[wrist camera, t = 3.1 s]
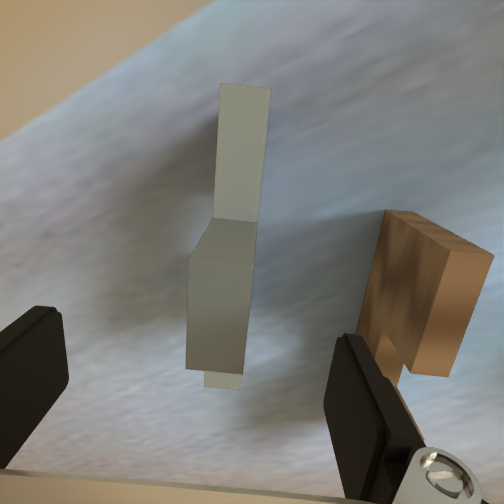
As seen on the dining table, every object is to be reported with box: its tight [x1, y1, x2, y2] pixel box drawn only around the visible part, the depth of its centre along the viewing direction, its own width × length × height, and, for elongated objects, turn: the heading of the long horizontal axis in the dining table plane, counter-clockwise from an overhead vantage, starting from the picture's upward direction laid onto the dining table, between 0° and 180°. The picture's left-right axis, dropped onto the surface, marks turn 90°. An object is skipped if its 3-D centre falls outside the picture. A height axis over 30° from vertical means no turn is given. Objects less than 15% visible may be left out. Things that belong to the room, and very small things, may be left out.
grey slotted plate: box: [186, 83, 271, 390], centre depth 20 cm, size 18×2×16 cm, turn 175°
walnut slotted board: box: [356, 210, 494, 441], centre depth 26 cm, size 22×2×10 cm, turn 175°
